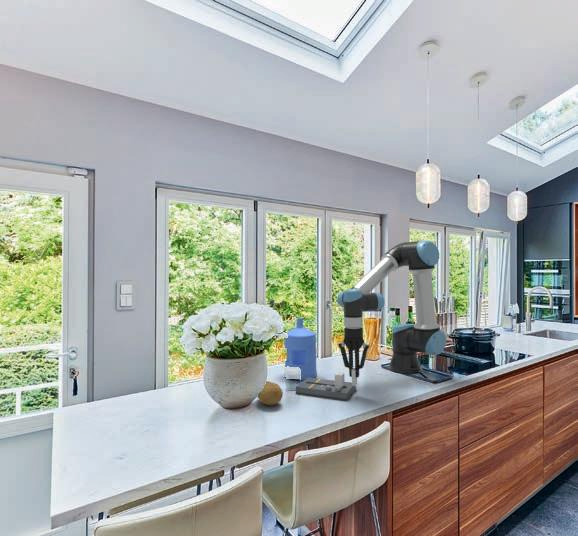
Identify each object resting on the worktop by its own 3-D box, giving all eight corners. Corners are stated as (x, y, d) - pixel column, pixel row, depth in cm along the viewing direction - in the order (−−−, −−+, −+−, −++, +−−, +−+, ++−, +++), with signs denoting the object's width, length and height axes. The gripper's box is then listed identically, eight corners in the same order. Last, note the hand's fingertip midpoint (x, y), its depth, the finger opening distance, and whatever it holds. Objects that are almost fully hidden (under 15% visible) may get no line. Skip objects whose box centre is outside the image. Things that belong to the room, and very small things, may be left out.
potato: (273, 396, 149) (272, 376, 149) (288, 407, 136) (288, 386, 136) (251, 400, 144) (250, 380, 145) (264, 412, 132) (264, 390, 132)
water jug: (300, 369, 187) (299, 316, 187) (323, 375, 176) (322, 318, 176) (278, 376, 176) (277, 319, 176) (301, 383, 165) (300, 322, 165)
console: (356, 390, 154) (355, 379, 154) (346, 401, 142) (346, 389, 142) (308, 384, 164) (308, 374, 164) (295, 393, 151) (295, 383, 151)
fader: (344, 390, 151) (344, 372, 151) (341, 393, 148) (341, 375, 148) (337, 389, 153) (337, 371, 153) (334, 392, 149) (334, 374, 149)
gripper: (371, 326, 148) (372, 384, 148) (340, 325, 154) (341, 380, 154) (367, 329, 141) (368, 389, 141) (335, 327, 147) (336, 385, 147)
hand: (354, 384), depth 147 cm, fingers closed
